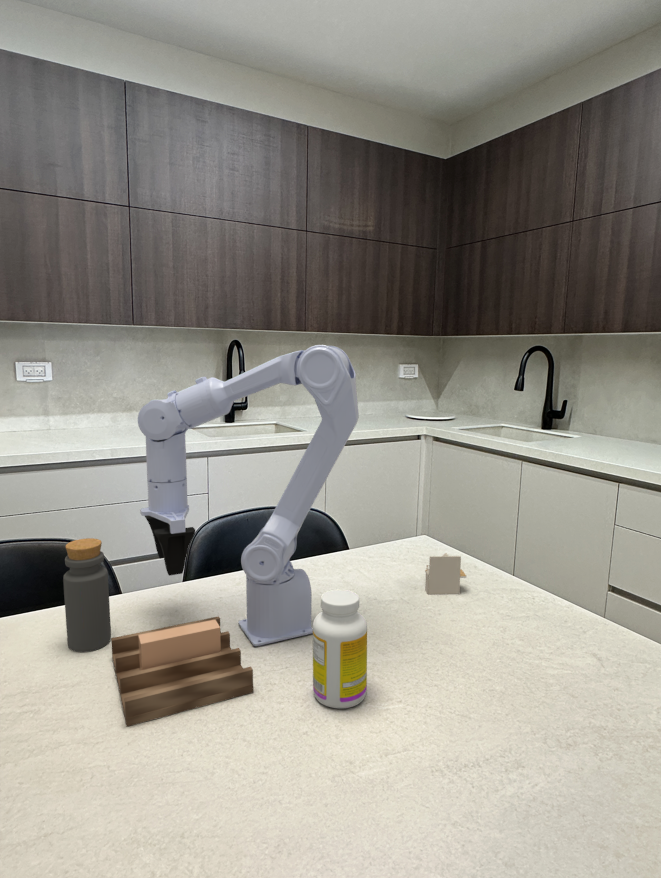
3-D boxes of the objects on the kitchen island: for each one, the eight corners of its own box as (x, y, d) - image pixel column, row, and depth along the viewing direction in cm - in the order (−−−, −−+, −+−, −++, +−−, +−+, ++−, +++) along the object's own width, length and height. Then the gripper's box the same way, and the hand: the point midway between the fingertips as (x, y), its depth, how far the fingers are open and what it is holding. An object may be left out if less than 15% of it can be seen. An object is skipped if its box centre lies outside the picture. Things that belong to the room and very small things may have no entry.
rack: (218, 634, 84) (218, 616, 84) (253, 692, 70) (253, 670, 69) (112, 658, 77) (111, 637, 77) (126, 726, 63) (125, 702, 63)
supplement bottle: (372, 685, 72) (374, 589, 70) (357, 716, 65) (359, 612, 64) (323, 675, 74) (323, 582, 72) (304, 704, 68) (304, 603, 66)
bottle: (95, 654, 78) (89, 552, 76) (58, 650, 79) (51, 548, 77) (119, 634, 84) (114, 538, 82) (84, 630, 85) (78, 535, 83)
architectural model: (423, 589, 102) (424, 550, 101) (460, 588, 103) (462, 549, 101) (427, 597, 99) (428, 556, 98) (466, 596, 99) (467, 556, 98)
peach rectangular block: (216, 653, 77) (215, 619, 76) (220, 662, 75) (220, 627, 74) (139, 671, 73) (138, 634, 72) (142, 681, 70) (140, 643, 70)
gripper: (132, 471, 89) (136, 553, 91) (147, 492, 76) (151, 587, 78) (178, 468, 92) (180, 547, 94) (198, 487, 79) (201, 578, 81)
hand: (170, 565), depth 86 cm, fingers open, 7 cm apart
